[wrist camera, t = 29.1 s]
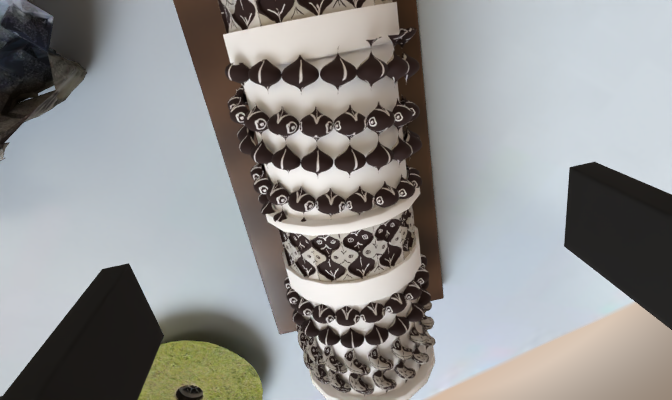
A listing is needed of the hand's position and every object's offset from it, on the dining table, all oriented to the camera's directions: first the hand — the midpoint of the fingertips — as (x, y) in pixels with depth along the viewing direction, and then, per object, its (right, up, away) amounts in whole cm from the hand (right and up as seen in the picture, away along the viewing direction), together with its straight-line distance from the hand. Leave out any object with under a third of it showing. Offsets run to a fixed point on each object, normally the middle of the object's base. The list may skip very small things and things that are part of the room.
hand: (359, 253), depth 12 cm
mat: (-12, -13, +21) cm, 27 cm away
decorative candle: (+2, -9, +14) cm, 17 cm away
